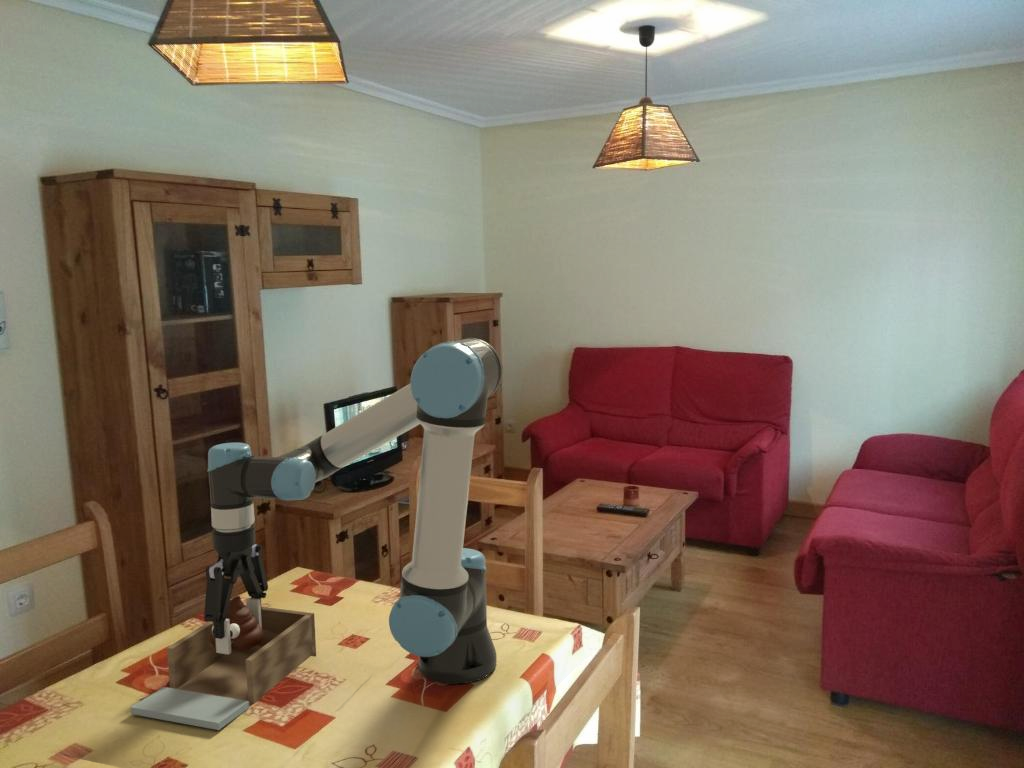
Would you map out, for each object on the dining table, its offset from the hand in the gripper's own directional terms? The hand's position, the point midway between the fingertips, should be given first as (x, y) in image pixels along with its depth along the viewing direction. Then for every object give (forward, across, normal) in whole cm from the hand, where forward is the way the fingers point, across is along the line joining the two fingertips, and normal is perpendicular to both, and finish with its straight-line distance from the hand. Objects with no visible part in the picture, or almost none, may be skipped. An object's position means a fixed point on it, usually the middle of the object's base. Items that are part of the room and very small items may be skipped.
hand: (239, 641), depth 149 cm
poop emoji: (+1, 0, -1) cm, 1 cm away
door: (+6, +10, 0) cm, 12 cm away
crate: (+7, -1, 0) cm, 7 cm away
